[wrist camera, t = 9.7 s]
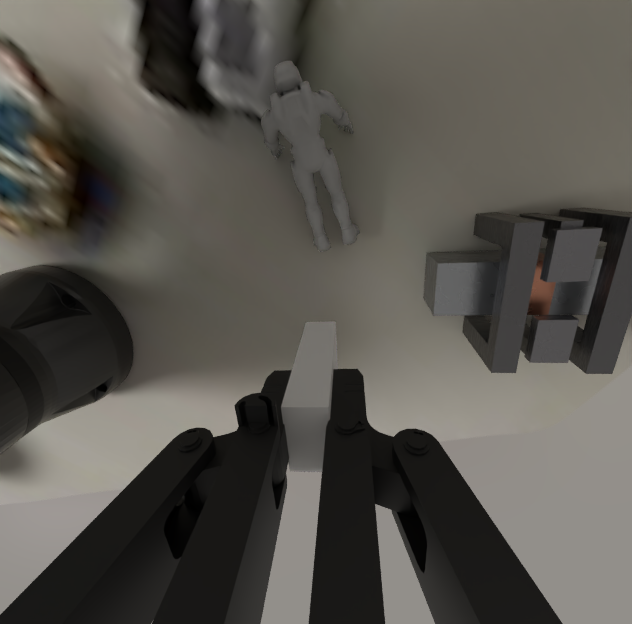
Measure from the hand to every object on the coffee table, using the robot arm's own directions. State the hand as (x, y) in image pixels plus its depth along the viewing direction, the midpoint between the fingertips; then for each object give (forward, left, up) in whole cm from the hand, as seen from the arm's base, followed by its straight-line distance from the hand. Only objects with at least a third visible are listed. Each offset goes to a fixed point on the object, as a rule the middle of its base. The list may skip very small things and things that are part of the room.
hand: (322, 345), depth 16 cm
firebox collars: (+15, 0, -13) cm, 19 cm away
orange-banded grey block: (+14, 0, -13) cm, 19 cm away
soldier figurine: (-1, +9, -13) cm, 16 cm away
